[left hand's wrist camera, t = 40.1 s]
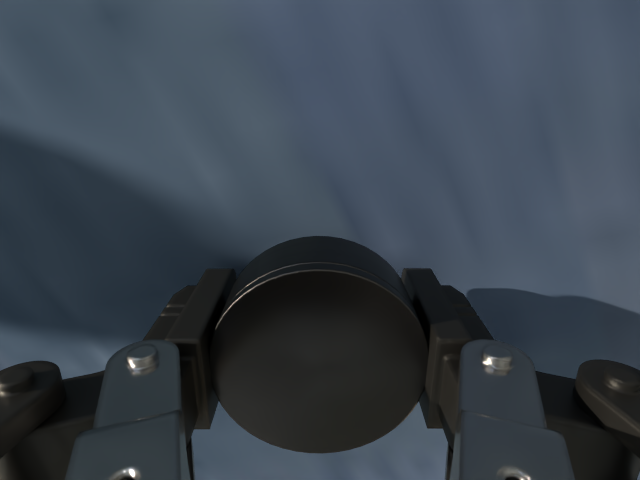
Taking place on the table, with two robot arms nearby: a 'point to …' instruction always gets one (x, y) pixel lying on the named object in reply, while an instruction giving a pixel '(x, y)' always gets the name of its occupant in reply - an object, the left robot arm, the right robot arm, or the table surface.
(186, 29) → the table surface
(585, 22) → the table surface
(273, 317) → the lid
